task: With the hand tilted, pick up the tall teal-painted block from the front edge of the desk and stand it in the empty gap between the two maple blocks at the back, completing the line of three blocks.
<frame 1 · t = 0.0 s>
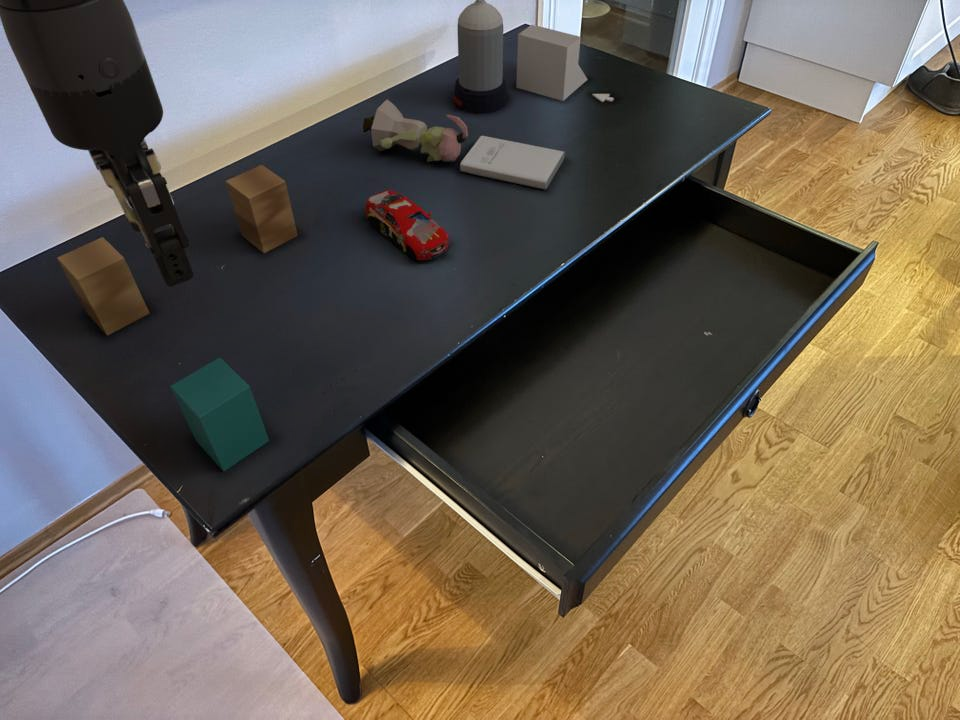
hand: (162, 252, 61), 18 cm above the table, tool pointing down, fingers open, 8 cm apart
teal block: (232, 441, 70), on the table
humidifier: (480, 101, 115), on the table
hard drive: (512, 167, 102), on the table
race car: (407, 236, 92), on the table
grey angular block: (570, 89, 118), on the table
figurine: (414, 158, 104), on the table
block right: (270, 235, 92), on the table
block left: (118, 313, 82), on the table
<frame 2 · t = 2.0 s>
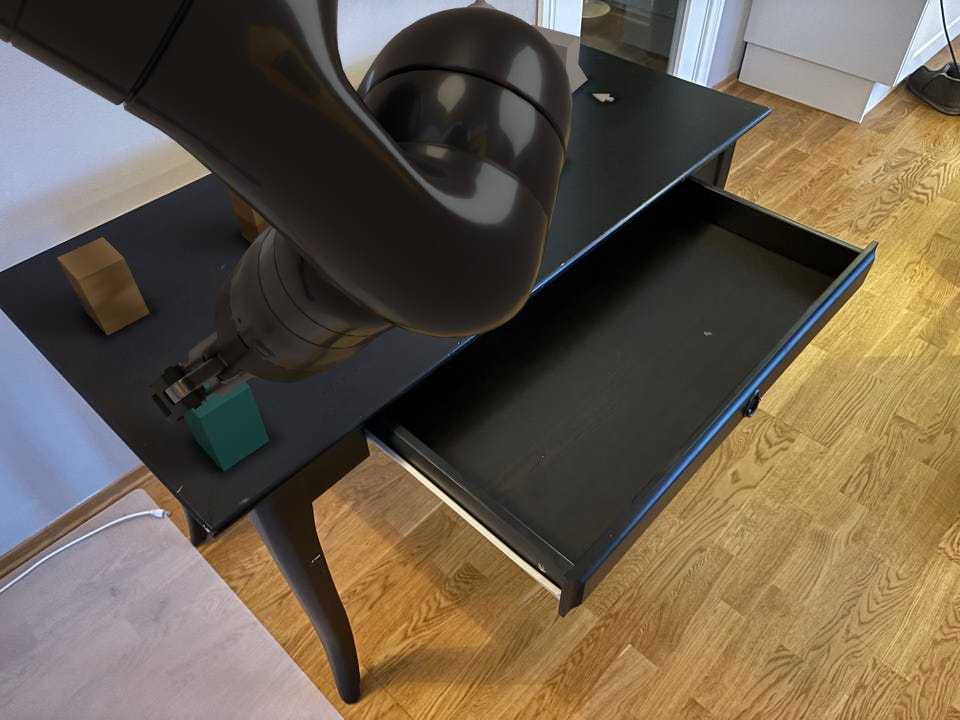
hand: (236, 356, 52), 19 cm above the table, tool tilted 40°, fingers open, 8 cm apart
nothing on the table moved.
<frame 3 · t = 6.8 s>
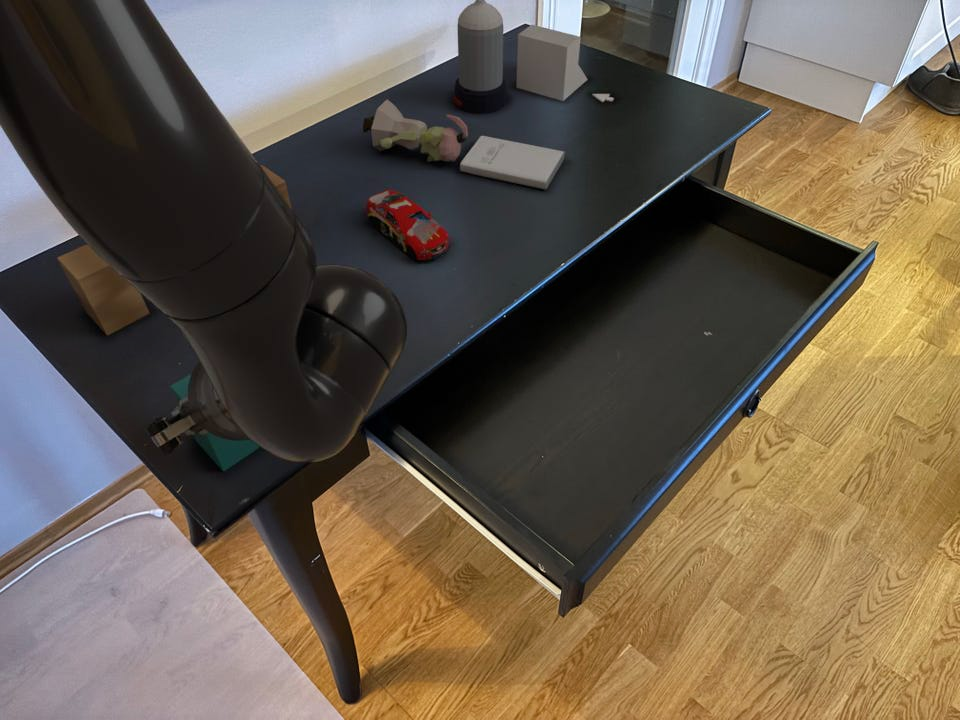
hand: (210, 402, 68), 4 cm above the table, tool tilted 45°, fingers closed on teal block, 5 cm apart
teal block: (232, 441, 70), on the table, touching gripper
everything else where it was.
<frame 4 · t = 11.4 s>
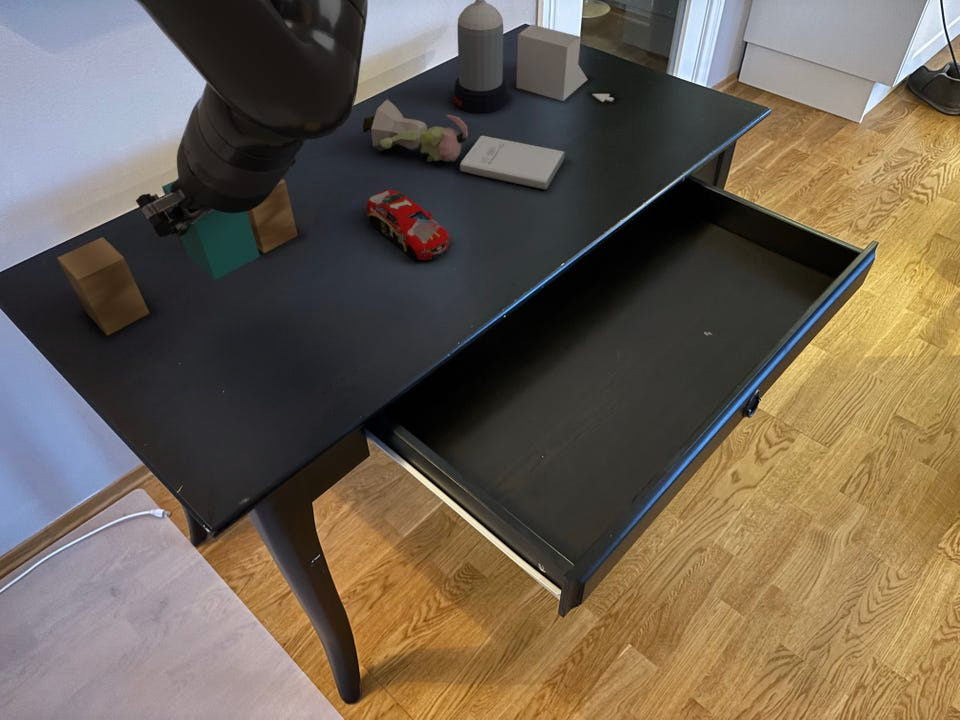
hand: (202, 213, 69), 15 cm above the table, tool tilted 45°, fingers closed on teal block, 5 cm apart
teal block: (224, 256, 71), point 11 cm above the table, touching gripper
everything else where it was.
when the fingers open (4 cm above the table, at t = 15.8 s): teal block stays where it is, on the table.
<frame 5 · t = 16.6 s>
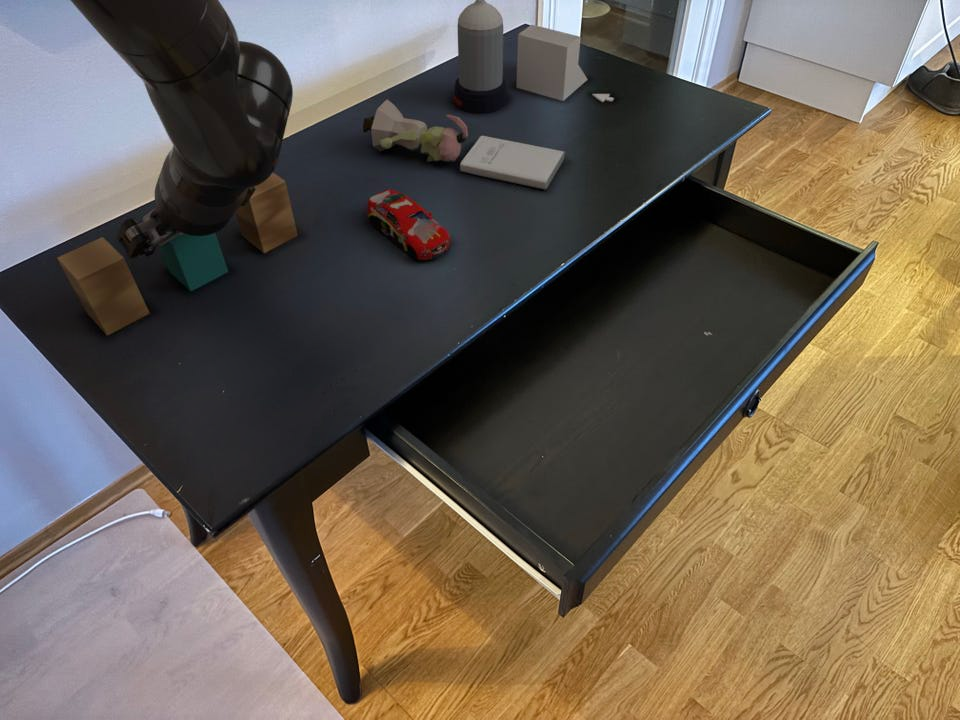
hand: (178, 231, 84), 5 cm above the table, tool tilted 45°, fingers open, 8 cm apart
teal block: (199, 272, 87), on the table
everything else where it was.
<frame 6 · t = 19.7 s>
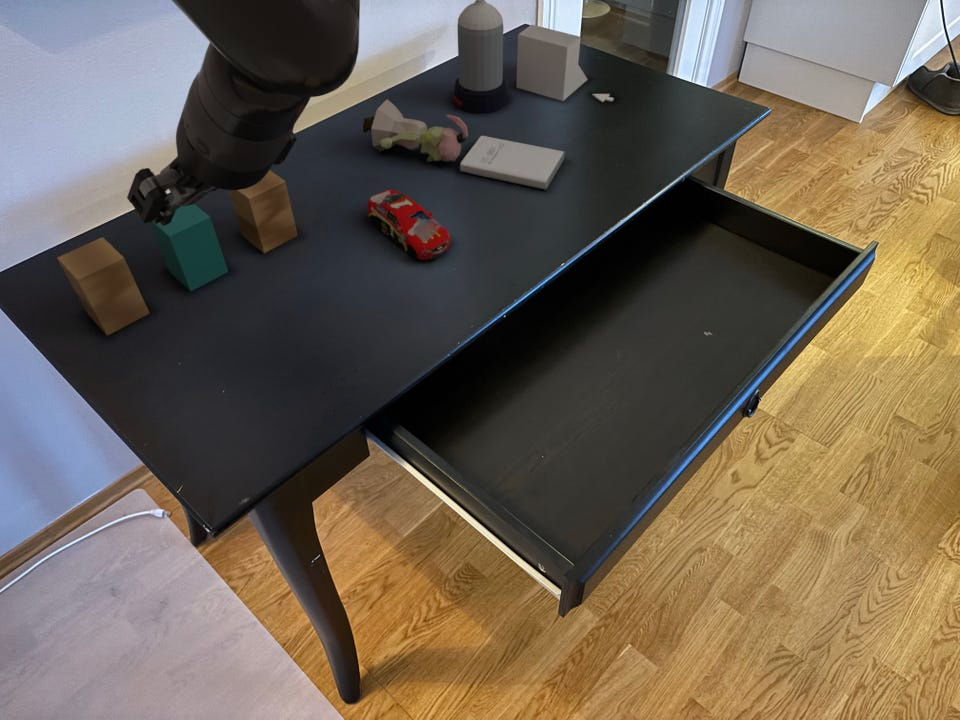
hand: (201, 196, 69), 16 cm above the table, tool tilted 45°, fingers open, 8 cm apart
nothing on the table moved.
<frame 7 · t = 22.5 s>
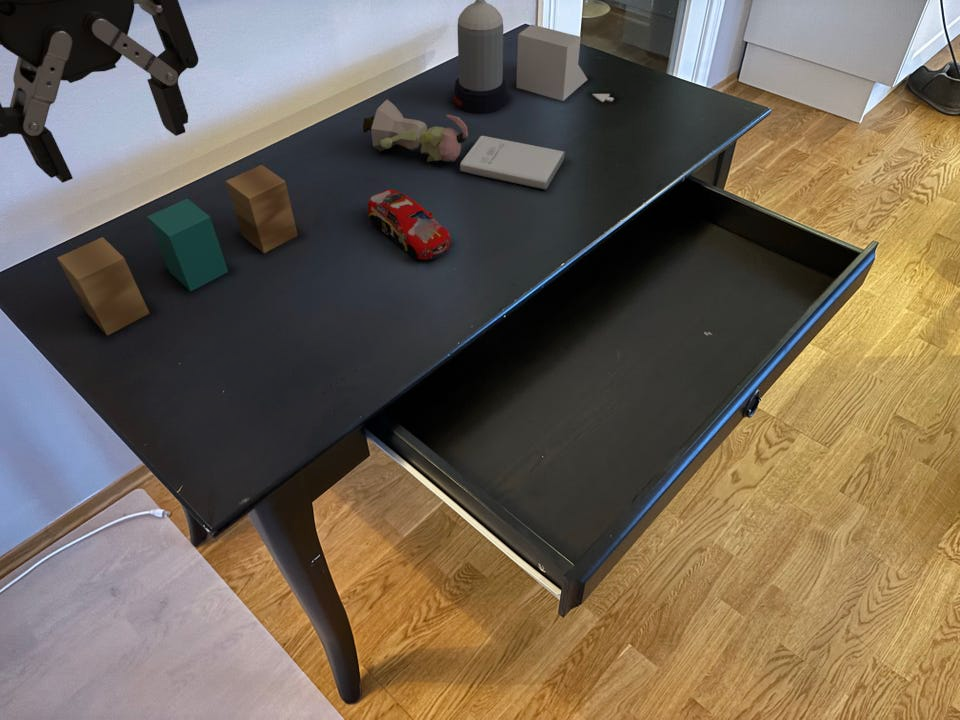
hand: (120, 153, 52), 28 cm above the table, tool pointing down, fingers open, 8 cm apart
nothing on the table moved.
at the end: teal block 0.1 cm from the target spot on the table beside the block left, on the table; teal block tilted 0°; block right moved 0.0 cm from its start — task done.
